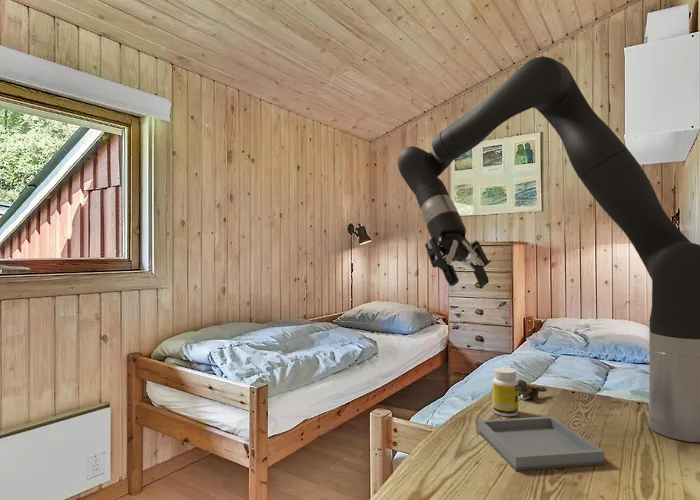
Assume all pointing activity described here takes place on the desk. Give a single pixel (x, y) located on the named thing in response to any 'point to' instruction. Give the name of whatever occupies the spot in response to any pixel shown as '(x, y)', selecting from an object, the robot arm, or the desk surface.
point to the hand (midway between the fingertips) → (470, 284)
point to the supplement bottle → (505, 392)
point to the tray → (539, 443)
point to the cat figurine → (528, 390)
